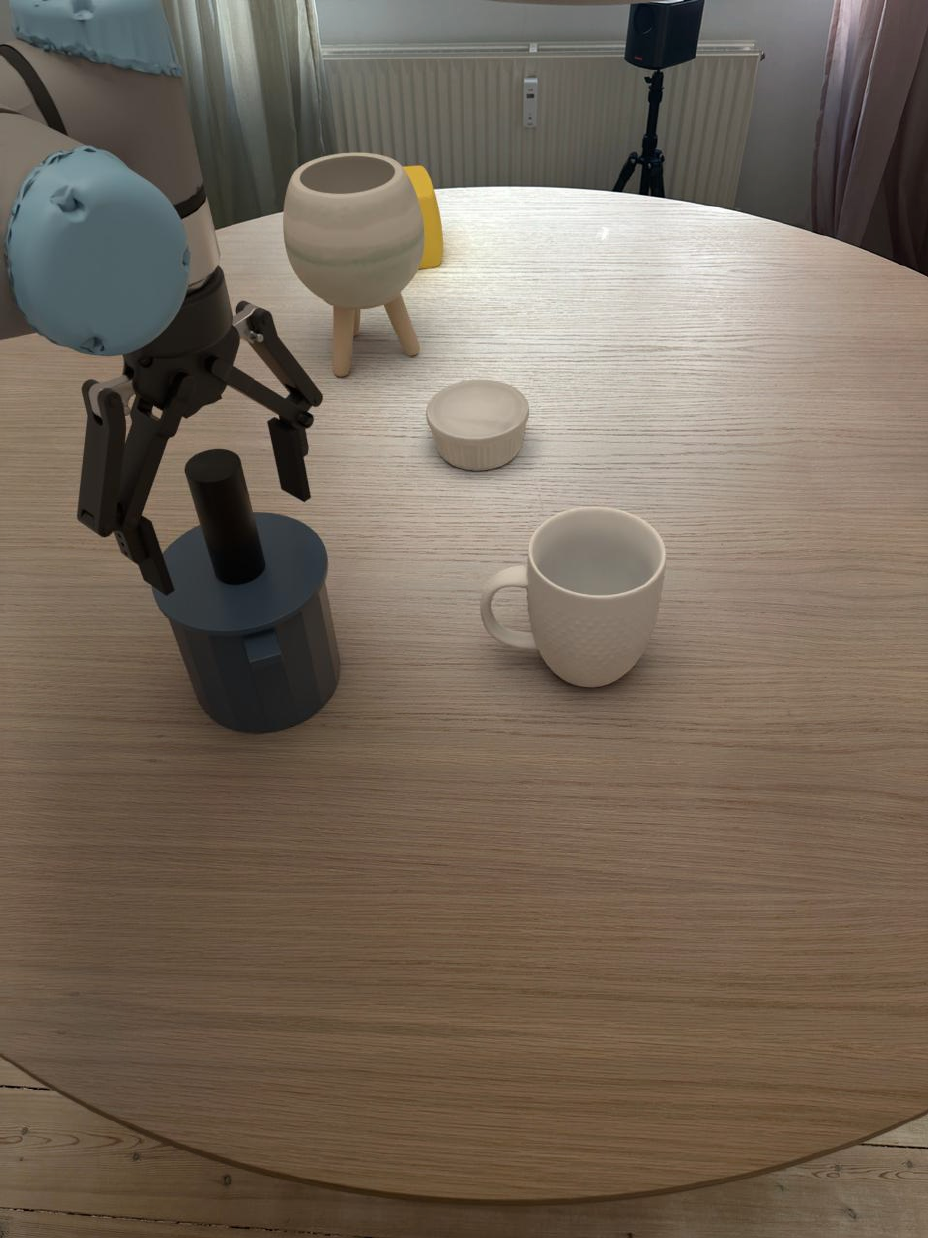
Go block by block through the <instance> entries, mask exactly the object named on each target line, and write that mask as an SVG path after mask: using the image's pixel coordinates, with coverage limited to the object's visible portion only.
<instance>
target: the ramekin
mask: <svg viewBox="0 0 928 1238" xmlns="http://www.w3.org/2000/svg"><path fill="white" fill-rule="evenodd" d="M425 415H426V416H425V417H426V423H427V425H428V426H429V429H430V431H431V435H432V439H433V442H434V445H435V449H436V451H437V453H438V454H439V456H440V457H441V458H442V459H443V460H444V461H446V462H447V463H448V464H450V465H451V466H453V467H456V468H459V469H462V470H466V471H475V472H477V471H478V472H479V471H481V472H482V471H488V470H493V469H496V468H500V467H503V466H504V465H506V464H507V463H508V464H509V462H511V461H512V460H513V459H514V458H515V457H516V456H517V454H518V453H519V452H520V450H521V448H522V446H523V442H524V438H525V433H526V426H527V424H528V421H529V418H530V404H529V402H528V399H527V398H526V396H525V395H524V394H523V392H521V391H520V390H519V389H517V388H516V387H514V386H513V385H510V384H509V383H506V382H502V381H497V380H491V379H468V380H462V381H459V382H456V383H452V384H450V385H448V386H446V387H444V388H442V389H441V390H439V391H438V392H436V393H435V394H434V395H433V396H432V397H431V399H430V400H429V402H428V404H427V406H426V411H425Z"/></svg>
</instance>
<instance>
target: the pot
mask: <svg viewBox="0 0 928 1238" xmlns="http://www.w3.org/2000/svg"><path fill="white" fill-rule="evenodd" d="M330 605H331V604H330V600H329V594H328V588H327V583H326V582H325V583H324V585H323V587H322V589H321V590H320V592H319V593H318V595H317V596H316V597H315V598H314V600H313V601H312V602H311V603H310V604H309V605H308V606H307V607H305V608H304V609H303V610H302V611H301V612H299V613H298V614H296V615H295V616H293V617H292V618H290V619H288V620H286V621H284V622H283V623H281V624H278V625H276V626H273V627H271V628H268V629H265V630H262V631H259V632H254V633H250V634H245V635H237V636H211V635H205V634H199V633H196V632H192V631H189V630H187V629H184V628H182V627H180V626H178V625H176V624H175V623H173V622H172V621H170V620H169V619H168V621H169V625H170V627H171V630H172V632H173V636H174V639H175V642H176V644H177V646H178V649H179V652H180V655H181V658H182V661H183V664H184V666H185V669H186V671H187V674H188V678H189V680H190V683H191V686H192V688H193V691H194V694H195V697H196V701H197V703H198V704H199V705H200V706H201V709H202V710H203V711H204V713H205V714H206V715H207V716H208V717H209V718H210V719H211V720H212V721H214V722H215V723H217V724H219V726H222V727H224V728H226V729H229V730H231V731H235V732H239V733H245V734H266V733H267V734H268V733H274V732H278V731H279V732H280V731H283V730H286V729H290V728H292V727H294V726H296V725H299V724H301V723H303V722H305V721H306V720H308V719H309V718H311V717H312V716H314V715H315V714H317V713H318V712H320V711H321V709H322V708H323V707H324V706H326V704H327V703H328V702H329V701H330V699H331V698H332V696H333V695H334V693H335V691H336V689H337V686H338V684H339V680H340V674H341V658H340V654H339V653H340V652H339V647H338V643H337V638H336V633H335V627H334V622H333V617H332V610H331V606H330Z"/></svg>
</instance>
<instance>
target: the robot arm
mask: <svg viewBox="0 0 928 1238" xmlns="http://www.w3.org/2000/svg"><path fill="white" fill-rule="evenodd" d="M9 11H10V15H11V21H12V25H11V30H12V33H13V36H14V37H15V39H14V40H10V41H6V42H4V43H0V341H3V340H10V339H14V338H19V337H24V336H28V335H33V334H37V335H38V336H41V337H44V338H45V339H46V340H47V341H49V342H50V343H52V344H54V345H56V346H59V347H63V348H69V349H71V350H74V351H75V352H78V353H80V354H83V355H89V356H90V355H91V356H97V357H98V356H99V357H117V356H122V358H123V359H122V360H123V365H122V366H123V367H122V373H121V374H122V375H120V376H118V377H115V378H112V379H110V380H107V381H104V382H102V383H101V382H99V381H98V380H96V379H93V378H89V379H87V380H85V381H84V382H83V383H82V387H81V394H82V398H83V403H84V408H85V410H86V411H85V412H86V426H85V436H84V444H83V445H84V446H83V452H82V453H83V454H82V455H83V456H82V465H81V475H80V481H79V492H78V493H79V494H78V502H77V509H76V510H77V511H76V519H77V521H78V522H79V523H80V524H82V525H83V526H85V527H86V528H88V529H89V530H90V531H92V532H94V533H95V534H97V535H98V536H100V537H101V538H108V537H110V536H111V535H112V534H113V535H114V537H115V540H116V542H117V545H118V548H119V550H120V553H121V554H122V555H123V556H124V557H126V558H127V559H128V560H130V561H131V562H133V563H134V564H136V565H137V566H138V568H139V571H140V574H141V576H142V579H143V581H144V582H145V583H147V584H148V585H150V586H151V587H152V586H153V587H154V588H156V589H157V590H159V591H160V592H161V593H163V594H164V595H166V596H167V595H169V594H170V593H172V592H173V591H175V589H174V586H173V583H172V580H171V578H170V575H169V572H168V569H167V566H166V563H165V560H164V557H163V551H162V548H161V546H160V542H159V539H158V537H157V534H156V530H155V528H154V525H153V521H151V520H150V519H149V518H147V517H145V516H144V515H143V513H144V510H145V507H146V504H147V502H148V499H149V496H150V493H151V491H152V488H153V485H154V482H155V479H156V477H157V473H158V471H159V468H160V464H161V462H162V459H163V456H164V453H165V450H166V447H167V444H168V442H169V440H170V439H171V438H174V437H175V436H176V434H177V433H178V429H179V426H180V424H181V421H182V418H183V419H186V420H187V419H188V418H190V417H192V416H194V415H196V414H197V413H198V412H199V411H200V410H201V409H203V407H205V406H208V405H213V404H215V403H217V402H218V401H220V400H222V399H223V396H222V395H223V393H224V392H225V391H226V389H227V387H230V388H231V389H233V390H234V391H236V392H238V393H240V394H242V395H243V396H245V397H246V398H248V399H250V400H251V401H254V402H255V403H257V404H259V405H260V406H262V407H263V408H265V409H267V410H269V411H270V412H272V413H274V414H275V415H278V417H276V416H273V417H272V418H270V419H268V420H266V423H267V427H268V433H269V438H270V442H271V446H272V452H273V456H274V462H275V466H276V470H277V476H278V480H279V485H280V490H282V491H283V492H285V493H287V494H288V495H290V496H292V497H294V498H296V499H298V500H299V501H301V502H303V503H306V502H307V501H308V500H310V499H312V495H311V494H312V493H311V489H310V483H309V479H308V473H307V472H308V471H307V468H306V462H305V457H306V456H307V455H309V450H310V449H309V448H310V446H309V442H308V436H307V431H306V430H308V429H310V428H311V427H312V426H313V424H314V422H315V417H314V415H313V414H312V413H311V412H309V411H310V409H312V407H313V408H318V407H320V405H322V403H323V400H324V395H323V393H322V391H321V389H320V388H319V387H318V386H317V385H316V383H315V382H314V381H313V380H312V378H311V377H310V376H309V374H308V373H307V371H305V369H304V368H303V366H302V365H301V364H300V363H299V361H298V360H297V359H296V358H295V357H294V355H293V354H292V352H291V351H290V350H289V349H288V347H287V346H286V345H285V343H284V342H283V341H282V339H281V338H280V337H279V335H278V332H277V328H276V325H275V321H274V317H273V315H272V313H271V311H269V310H268V309H265V308H262V307H260V306H257V305H255V304H253V303H251V302H249V301H247V300H240V301H239V302H238V303H237V304H236V306H235V309H234V310H235V312H234V313H235V315H234V313H233V308H232V303H231V298H230V295H229V290H228V286H227V280H226V277H225V272H224V269H223V268H222V267H221V266H220V261H221V256H222V255H221V254H222V253H221V251H220V246H219V241H218V237H217V233H216V228H215V225H214V221H213V217H212V213H211V212H212V211H211V209H210V208H211V207H210V203H209V199H208V195H207V192H206V189H205V185H204V180H203V179H204V178H203V175H202V170H201V169H202V168H201V165H200V160H199V156H198V155H199V154H198V150H197V146H196V141H195V136H194V132H193V127H192V122H191V117H190V113H189V107H188V104H187V99H186V93H185V89H184V84H183V80H182V76H184V74H183V67H182V65H181V64H180V61H179V57H178V54H177V50H176V46H175V44H174V40H173V37H172V36H173V35H172V32H171V29H170V26H169V25H170V24H169V22H168V21H169V20H168V19H167V17H166V14H165V11H164V7H163V4H162V0H9ZM241 340H243V341H245V342H246V343H248V345H249V346H250V347H251V349H253V350H254V352H255V354H257V356H258V357H259V358H260V359H261V361H262V362H263V363H264V364H265V365H266V366H267V368H268V369H269V370H270V371H271V373H272V374H273V375H274V376H275V378H276V379H277V380H278V381H279V382H280V384H281V385H282V386H283V388H285V390H286V391H287V392H288V393H289V394H288V395H287V396H286V397H284V396H282V395H280V394H279V393H277V392H276V391H275V390H272V389H271V388H270V387H267V386H266V385H265V384H263V383H261V382H259V381H258V380H257V379H255V378H254V377H252V376H251V375H249V374H247V373H245V372H244V371H243V370H241V369H239V368H238V367H236V366H234V364H235V361H236V358H237V354H238V351H239V348H240V344H241ZM134 395H135V397H134V400H133V402H132V405H131V407H129V403H130V400H131V398H132V397H133V396H134ZM153 408H156V409H157V410H160V411H161V415H160V417H158V416H156V415H154V414H153ZM126 416H129V418H130V421H131V424H130V427H129V429H128V430H129V431H128V433H127V420H126Z"/></svg>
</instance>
